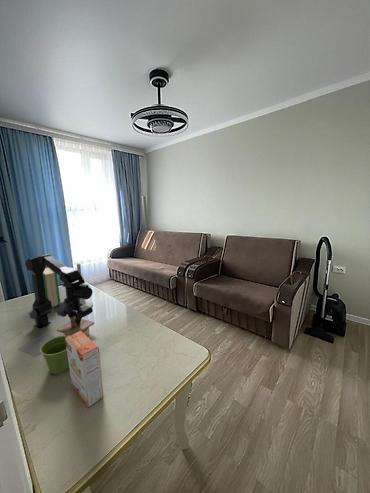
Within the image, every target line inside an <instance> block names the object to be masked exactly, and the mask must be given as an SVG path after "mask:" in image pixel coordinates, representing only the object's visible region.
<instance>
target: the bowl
mask: <svg viewBox="0 0 370 493" xmlns="http://www.w3.org/2000/svg"><path fill="white" fill-rule="evenodd" d="M83 333H84V334H85V335H86V336H87V337H88V336H89V334H90V327H89V328H87V329H86V330H84V331H83ZM63 336H70V335H67V334H64V333H63Z"/></svg>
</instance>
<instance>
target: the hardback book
mask: <svg viewBox="0 0 370 493" xmlns="http://www.w3.org/2000/svg"><path fill="white" fill-rule="evenodd" d="M43 276H44V284H45V291H46V298H47V299H48V300H49V301H51V304H52V308H54V307H56V306H57V305H58V304H59V303H61V297H60V289H59V282H58V274H57V273H55V272H54V271H53V270H51V269H50V268H49V267H47V266H46V268H45V270H44V272H43Z"/></svg>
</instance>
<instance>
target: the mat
mask: <svg viewBox="0 0 370 493" xmlns="http://www.w3.org/2000/svg"><path fill="white" fill-rule="evenodd" d="M55 337H56V336H54V335H50V334H48V333H42V334H41V335H39V336H38V337H36V338H34V339H33V340H30V341H29V342H27V343H26V344H24V345H22V346H19V347H18V348H17V350H19V351H20V352H21V351H22V352H24V353H26V354H28V355H31V356H32V357H38V356H40V355H42V354H41V353H40V348H41V346H42V345H43V344H44V343H45V342H47V341H48V340H50V339H52V338H55Z"/></svg>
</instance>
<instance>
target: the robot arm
mask: <svg viewBox="0 0 370 493" xmlns="http://www.w3.org/2000/svg"><path fill="white" fill-rule="evenodd" d="M24 265H25V267H26V270H27V271H28V272H29V274H31V278H32V285H33V292H34V300H33V303H32V310H31V311H30V312H29V317H30V319H33V320H34V322H35V323H34V324H33V327H34V328H37V329H42V328H44V327H47V326H48V325H50V324H51V323H52V322H51V321H49V316H48V314H50V313H52V308H53V307H52V304H51V301H49V300H48V299H47V298H46V291H45V284H44V276H43V272H44V270H45V268H46V266H47V267H49V268H50V269H51V270H53V271H54V272H55V273H57V276H58V277H59V280H60V281H61V282H62V283H63V284H62V285H61V287H63V288H64V290H65V297H64V301H62V302H61V301H60V303H59V304H58V305H57V306H55V313H56V315H57V316H59V317H66V316H68V318H69V320H70V321H71V319H70V317H72V316H75V317H76V322H77V325H79V324H80V322H81V319H83V318H85V317H87V316H88V315H91V314H92V313H93V307H88V306H85V307H80V306H82V303H80V298H82V299H85V300H90V298H92V295H93V292H94V291H93V289H92V287H90V286H89V284H85V283H86V281H85V279H84V277H83V275H82V276H81V275H80V273H79V271H78V270H77V268H76V269H75V268H74V267H68V266H67V265H65V264H63V263H62V262H60V261H58V260H57V259H56V258H54V257H53V256H52V254H50V253H46V254H41V255H39V256H35V257H30V258H27V259H26V260H25V264H24Z"/></svg>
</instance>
